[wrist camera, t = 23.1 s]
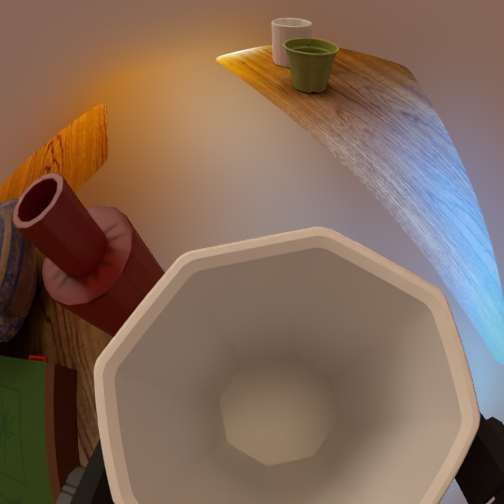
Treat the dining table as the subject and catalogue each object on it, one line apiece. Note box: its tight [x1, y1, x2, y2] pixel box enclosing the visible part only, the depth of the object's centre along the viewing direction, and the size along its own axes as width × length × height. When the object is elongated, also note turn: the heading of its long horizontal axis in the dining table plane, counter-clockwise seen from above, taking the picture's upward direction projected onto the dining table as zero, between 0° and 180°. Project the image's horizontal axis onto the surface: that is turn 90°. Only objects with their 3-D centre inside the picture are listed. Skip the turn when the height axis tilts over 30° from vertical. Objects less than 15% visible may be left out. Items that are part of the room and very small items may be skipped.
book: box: [0, 355, 80, 504], centre depth 17 cm, size 25×19×4 cm
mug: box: [271, 18, 312, 68], centre depth 49 cm, size 8×12×10 cm, turn 147°
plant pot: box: [283, 38, 339, 93], centre depth 43 cm, size 9×9×9 cm
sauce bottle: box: [13, 173, 165, 337], centre depth 19 cm, size 7×7×18 cm
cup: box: [94, 226, 480, 504], centre depth 14 cm, size 11×11×18 cm
